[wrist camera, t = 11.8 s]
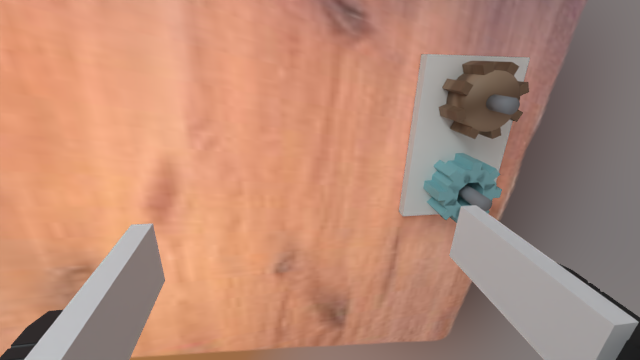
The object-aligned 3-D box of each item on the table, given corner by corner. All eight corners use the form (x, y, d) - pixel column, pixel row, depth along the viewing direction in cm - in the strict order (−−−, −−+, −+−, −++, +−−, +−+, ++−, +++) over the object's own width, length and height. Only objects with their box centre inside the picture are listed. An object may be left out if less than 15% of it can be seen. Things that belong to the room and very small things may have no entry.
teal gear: (418, 212, 44) (432, 226, 41) (429, 153, 41) (445, 163, 37) (474, 209, 46) (492, 222, 42) (488, 152, 42) (509, 161, 39)
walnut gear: (446, 59, 36) (466, 60, 33) (511, 61, 38) (537, 62, 34) (434, 132, 39) (450, 139, 36) (493, 131, 41) (515, 138, 37)
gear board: (421, 54, 37) (462, 53, 29) (520, 57, 39) (583, 58, 31) (398, 211, 45) (425, 243, 38) (481, 206, 48) (523, 236, 40)
